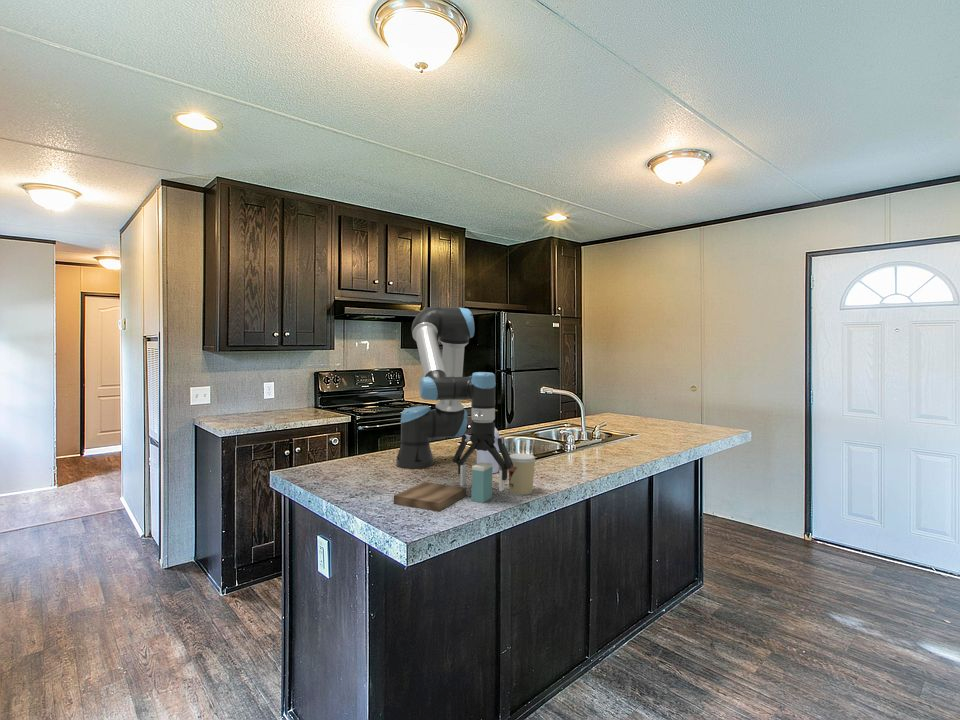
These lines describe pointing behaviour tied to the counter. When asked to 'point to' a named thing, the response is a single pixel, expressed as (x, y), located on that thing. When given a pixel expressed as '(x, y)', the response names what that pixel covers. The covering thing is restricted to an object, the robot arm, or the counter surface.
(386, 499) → the counter surface
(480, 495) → the block
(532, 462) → the white-capped cylinder
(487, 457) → the soap bottle
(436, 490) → the board
